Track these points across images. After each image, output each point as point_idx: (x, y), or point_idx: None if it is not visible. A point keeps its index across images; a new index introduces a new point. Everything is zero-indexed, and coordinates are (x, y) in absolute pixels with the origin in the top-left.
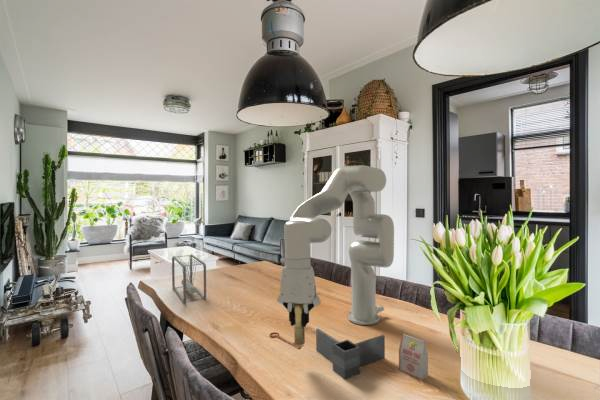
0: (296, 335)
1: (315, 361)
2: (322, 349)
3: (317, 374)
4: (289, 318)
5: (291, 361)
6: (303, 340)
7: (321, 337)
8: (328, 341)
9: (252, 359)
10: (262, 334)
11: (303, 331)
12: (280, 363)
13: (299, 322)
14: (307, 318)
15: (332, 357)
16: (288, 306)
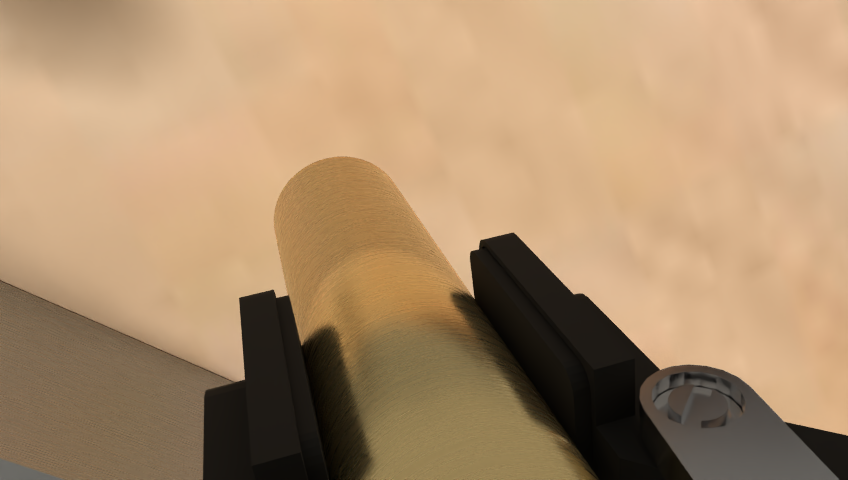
0: (377, 198)
1: (193, 243)
2: (182, 392)
3: (57, 44)
4: (597, 317)
5: (401, 148)
6: (279, 222)
7: (194, 477)
8: (57, 434)
9: (734, 31)
10: (771, 397)
11: (291, 284)
12: (481, 75)
13: (364, 310)
14: (212, 440)
15: (16, 319)
16: (789, 461)
